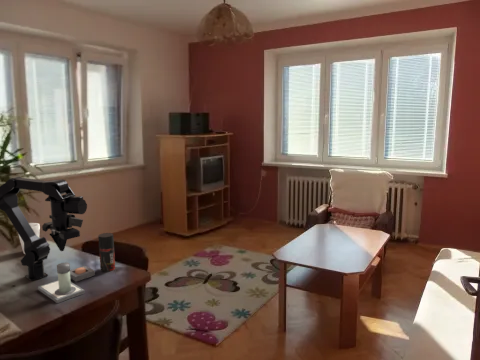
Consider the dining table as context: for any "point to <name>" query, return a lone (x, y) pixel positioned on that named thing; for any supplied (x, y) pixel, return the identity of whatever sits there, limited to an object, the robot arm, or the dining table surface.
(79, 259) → the dining table surface
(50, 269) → the dining table surface
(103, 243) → the deodorant
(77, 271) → the button
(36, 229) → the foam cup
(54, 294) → the board
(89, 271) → the button housing
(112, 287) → the dining table surface
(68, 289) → the knob
